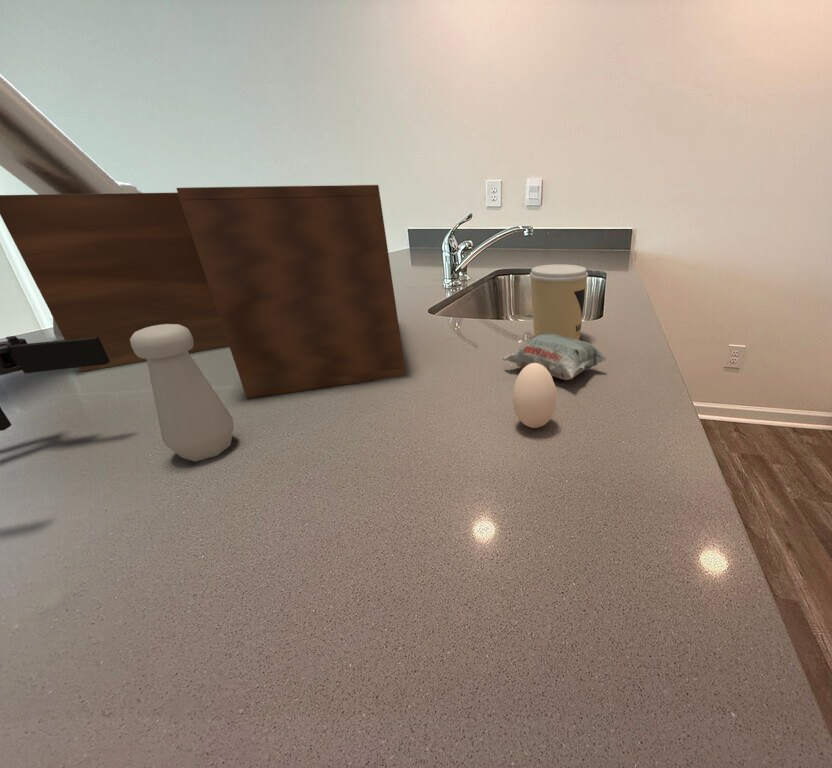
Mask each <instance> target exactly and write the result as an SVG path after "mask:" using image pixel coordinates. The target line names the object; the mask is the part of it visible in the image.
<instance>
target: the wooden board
mask: <svg viewBox="0 0 832 768" xmlns="http://www.w3.org/2000/svg"><path fill="white" fill-rule="evenodd" d="M175 190H176V193H177V192H178V195H179V198H180V200H181V204H182V207H183V210H184V213H185V216H186V219H187V222H188V225H189V228H190V231H191V234H192V237H193V240H194V243H195V246H196V249H197V252H198V255H199V258H200V261H201V264H202V267H203V270H204V273H205V275H206V278H207V281H208V284H209V287H210V290H211V293H212V296H213V299H214V302H215V305H216V308H217V311H218V314H219V317H220V320H221V323H222V326H223V329H224V332H225V335H226V338H227V341H228V344H229V346H228V347H229V350H230V352H231V355H232V358H233V361H234V364H235V368H236V371H237V374H238V376H239V379H240V383H241V385H242V389H243V391H244V394H245V397H246V399H254V398H255V399H256V398H262V397H269V396H276V395H281V394H283V395H284V394H288V393H296V392H303V391H310V390H317V389H324V388H331V387H337V386H338V387H339V386H344V385H353V384H359V383H365V382H373V381H378V380H383V379H384V380H385V379H388V378H389V379H390V378H396V377H397V378H398V377H403V376H404V377H405V376H406V375H407V373H406V366H405V359H404V353H403V352H404V351H403V344H402V339H401V338H402V337H401V331H400V325H399V319H398V318H399V317H398V311H397V303H396V296H395V291H394V282H393V276H392V270H391V263H390V256H389V248H388V241H387V235H386V228H385V227H386V226H385V220H384V213H383V206H382V199H381V193H380V186H379V184H333V185H331V184H329V185H325V184H324V185H267V186H266V185H263V186H260V185H258V186H196V187H195V186H194V187H192V186H190V187H189V186H188V187H176V189H175Z"/></svg>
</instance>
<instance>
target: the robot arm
mask: <svg viewBox="0 0 832 768" xmlns="http://www.w3.org/2000/svg"><path fill="white" fill-rule="evenodd" d="M0 167H2V168H3V169H4V170H6V171H7V172H8V173H9V174H11V175H12V176H13V177H15V178H16V179H17V180H18V181H20V182H21V183H23V184H24V185H25V186H26V187H28V188H29V189H30V190H31V191H33V192H34V193H36V195H43V194H110V193H143V192H142V190H141V189H139V188H137V186H135V185H133V184H131V183H128V182H122V181H116V180H115V179H114V178H113V177H112V176H110V174H108V172H106V170H104V169H103V168H102V167H101V166H100V165H99V164H98V163H97V162H96V161H95V160H94V159H93V158H91V157H90V155H88V154H87V152H85V151H84V150H83V149H82V148H81V147H80V146H78V144H77V143H75V142H74V141H73V140H72V139H71V138H70V137H69V136H67V134H65V132H63V131H62V130H61V129H60V128H59V127H58V126H57V125H56V124H55V123H54V122H53V121H52V120H50V119H49V118H48V117H47V116H46V115H45V113H43V112H42V111H41V110H40V109H38V107H37V106H36V105H34V103H32V102H31V101H30V99H28V98H27V97H26V96H25V95H24V94H23V93H22V92H20V91H19V90H18V89H17V88H16V87H15V86H14V85H13V84H12V83H10V82H9V80H7V78H5V77H4V76H3V75H2V74H1V73H0ZM52 325H53V326H52V328H53V335H54V337H55V338H56V340H52V341H51V340H49V341H41V342H31V343H28V341H27V340H26V338H19V337H18V336H16V335H9V336H5V339H6V341H1V342H0V376H4V375H9V374H13V373H17V372H21V371H22V372H23V374H32V373H41V372H50V371H58V370H59V371H60V370H67V369H68V370H69V369H76V368H77V369H78V368H79V367H87V366H96V365H105V364H108V363H109V362H110V360H109V358H108V356H107V354H106V352H105V350H104V347H103V345H102V343H101V341H100V339H99V337H91V338H81V339H70V340H65V339H64V337H63V335H62V333H61V332H60V330H59V328H58V326H57V324H56V322H55V320H54V318H53V317H52ZM12 426H13V425H12V423H11V421H10V420H9V418H8V417H7V415H6V413H5V412H4V410H3V409H2V406H0V432H1V431H5V430H7V429H9V428H10V427H12Z"/></svg>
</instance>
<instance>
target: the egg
mask: <svg viewBox="0 0 832 768" xmlns="http://www.w3.org/2000/svg"><path fill="white" fill-rule="evenodd" d="M557 395H558V394H557V387H556V384H555V382H554V379H553V377H552V376H551V374H550V373H549V371H548V370H547V369H546V368H545V367H544V366H543V365H541V364H538V363H531V364H529V365H527V366H526V367H524V368H521V370H520V372H519V373H518V375H517V378H516V380H515V382H514V385H513V389H512V405H513V410H514V413H515V415H516V416H517V418H518V420H519V421H520V422H521V423H522V424H523V425H525V426H526V427H528V428H531V429H538V428H541V427H543V426H546V424H548V423H549V422H550V420H551V419H552V417H553V415H554V414H555V411H556V408H557V407H556V406H557V401H558V400H557V399H558V397H557Z"/></svg>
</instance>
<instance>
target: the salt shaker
mask: <svg viewBox="0 0 832 768" xmlns="http://www.w3.org/2000/svg"><path fill="white" fill-rule="evenodd" d="M130 342H131V347H132V349H133V351H134V353H135V354H136V355H137V356H138V357H140V358H142V359H147V361H146V363H147V369H148V373H149V379H150V384H151V389H152V394H153V399H154V405H155V409H156V415H157V419H158V424H159V429H160V435H161V440H162V442H163V443H164V445H165V446H167V448H169V449H170V450H171V451H173V452H174V453H175V454H176V455H178V456H179V457H180V458H181V459H183V460H188V461H190V462H191V461H192V462H198V461H203V460H206V459H209V458H214V457H216V456H219V455H221V453H222V452H225V450H227V449H228V448H229V447H231V444H232V440H233V439H232V438H233V435H234V418H233V417H232V415H231V414H230V412H229V410H228V408H227V407H226V406H225V404H224V403H223V401H222V400H221V399H220V397H219V396H218V394H217V392H216V391H215V390H214V389H213V387H212V385H211V384H210V383H209V381H208V379H207V378H206V376H205V375H204V373H203V372H202V371H201V369H200V367H199V366H198V365H197V363H196V362H195V360H194V358H193V357H192V356H191V353H188V351H189V350H190V349H192V348H193V344H194V341H193V337H192V334H191V333H190V331H189V329H188V328H186V327H184V326H182V325H179V324H163V325H155V326H150V327H147V328H143V329H141V330H139V331H136V332H135V333H134V334H133V335H132V337H131V338H130Z"/></svg>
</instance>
